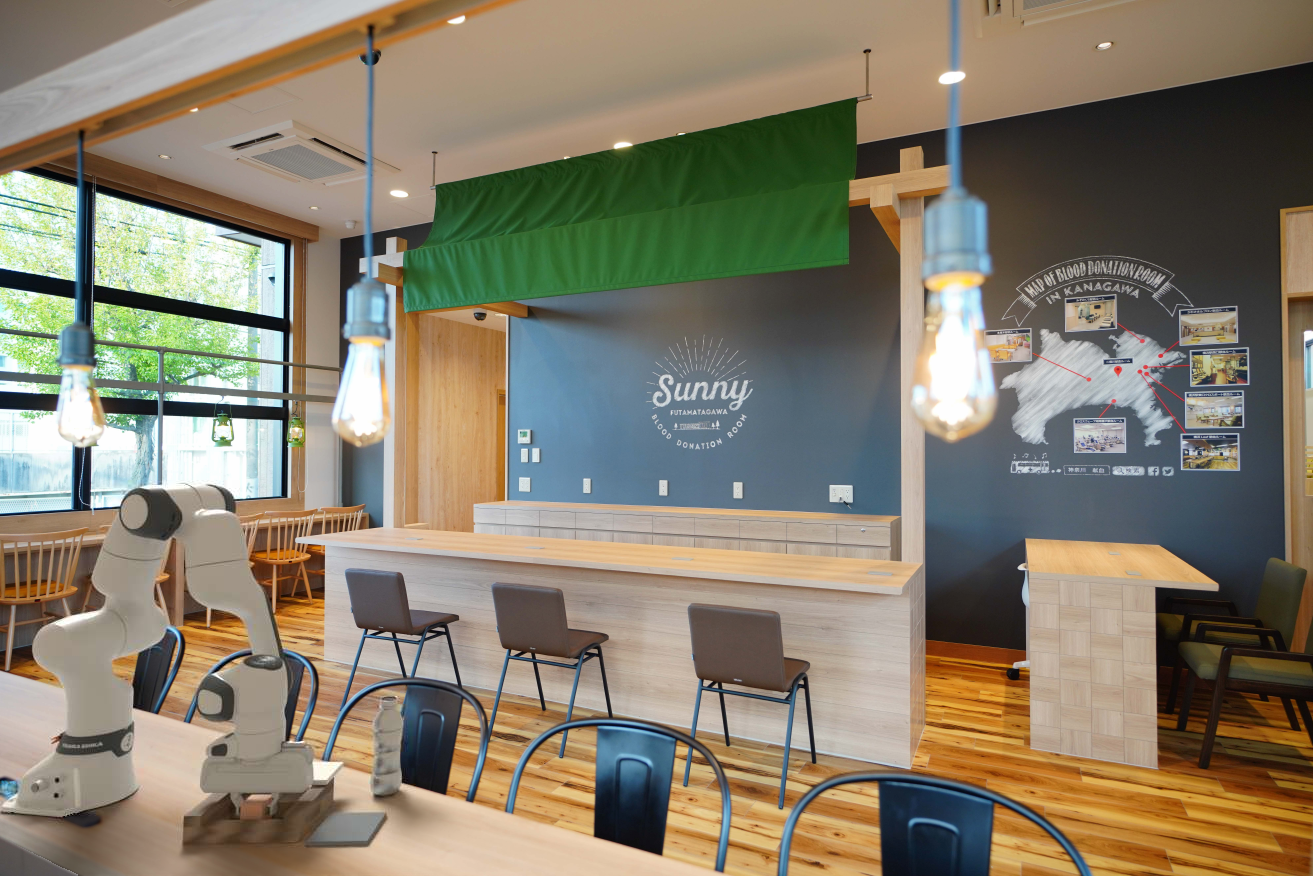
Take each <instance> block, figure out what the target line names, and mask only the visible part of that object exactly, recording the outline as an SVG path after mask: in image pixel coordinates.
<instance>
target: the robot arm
mask: <svg viewBox="0 0 1313 876" xmlns="http://www.w3.org/2000/svg"><path fill="white" fill-rule="evenodd" d="M236 512H237V504H236V499H235V496H234V495H233V494H232V492H231V491H230V490H229V489H228V488H225V487H222V486H221V485H215V484H212V483H211V484H210V483H209V484H200V483H199V484H198V483H189V482H187V483H185V482H184V483H183V482H182V483H175V484H173V483H172V484H161V485H157V484H149V485H142V486H138V487H135V488H132V489H131V490H129V491H128V492H127V493H126V494H125V495H124V497H123V498H122V500H121V502H120V505H119V509H118V512H117V514H116V516H115V517H114V518H113V520H112V522H111V524H110V526H109V528H108V530H107V533H106V535H105V537H104V539H103V543H102V545H101V548H100V551H99V554H98V557H97V559H96V563H95V564H94V565H95V566H94V568H93V571H92V575H91V578H90V579H91V582H92V585H93V586H94V589H96V591H98V592H99V593H100V594H102V595H103V596H105V602H104V605H103V606H102V607H101V608H100V609H98V610H95V611H94V610H93V611H89V612H88V611H87V612H84V613H83V612H82V613H77V614H73V615H68V616H66V617H62V618H61V619H58V620H55V621H54V622H51V623H48V624H47V625H44V626H42V627H41V628H40V629H39V630H38V631H37V633H36V635H35V637H34V639H33V642H32V645H31V646H32V648H31V649H32V650H31V652H32V656H33V659H34V661H35V662H36V664H37V665H39V667H40V668H42V670H45V671H48V672H50V673H51V674H53V675H54V676H55V677H57V679H58V681H59V683H60V684H61V686H62V688H63V691H64V693H65V699H66V701H65V702H66V720H65V721H66V723H65V724H66V726H65V730H64V731H63V732H61V733H60V734H58V735H57V736H55V737H52V738H51V741H52V742H51V745H54V744H55V743H58V744H57V746H56V748H55V750H54V751H53V752H52V753H50V754H49V755H48V756H46V757H45V758H43V759H42V760H41V761H39V762H37V764H35V765H34V766H32V767H31V768H30V769H29V770H27V771H26V772H25V773H24V775H23V776H22V778H21V780H20V783H19V787H18V790H17V793H16V794H14V795H12V796H11V797H10V798H8V799H6V800H5V802H3V804H2V805H1V810H0V811H1V812H3V813H11V812H14V814H23V815H35V816H45V817H46V816H47V817H58V818H64V817H63V816H65V817H68V816H67V815H69V816H71V815H70V814H72V815H74V814H73V813H75V814H78V813H80V812H83V811H88V810H91V809H95V808H100V807H105V806H108V805H110V804H114V803H116V802H118V801H120V800H123V799H125V798H127V797H130V796H131V795H132V794H134V793H135V792H136V791H137V790H138V788H139V783H138V781H137V778H136V774H135V768H134V761H133V746H134V740H135V722H134V720H133V709H134V708H133V707H134V687H133V685H132V684H131V683H130V682H129V681H127V680H126V679H125V678H122V677H119V676H116V675H115V673H114V669H113V661H114V660H116V659H119V658H124V657H128V656H131V655H134V654H139V653H141V652H143V651H145V650H147V649H149V648H151V647H153V646H154V645H157V644H158V643H160V642H162V639H164V637H165V635H166V632H167V630H168V619H167V616H166V614H165V612H164V611H163V609H162V608H161V607H160V606H159V605H157V603H156V601H155V585H156V581H157V579H158V574H159V572H160V569H161V565H162V562H163V559H164V558H165V554H166V551H167V547H168V544H169V541H170V539H171V538H173V539H176V540H178V541H179V542H180V543H181V544H182V546H183V551H184V561H185V562H184V565H185V578H186V579H185V580H186V585H187V589H188V592H189V594H190V596H191V597H192V598H193V599H194V600H195V601H196V602H198V603H199V604H201V606H204V607H206V608H209V609H212V610H217V611H222V612H227V613H230V614H233V615H234V616H236V617H238V618H239V619H240V620H241V621H242V622H243V624H244V627H245V630H246V634H247V637H248V641H249V645H250V649H251V653H252V655H251V656H248V657H246V658H244V659H243V660H242V661H240V663H239V664H238V663H237V664H236V665H234V666H233V667H230V668H226V669H222V670H220V671H216V672H214V673H211V674H210V675H207V676H205V677H204V678H203V680H202V681H201V682H200V684H199V686H198V688H197V691H196V695H195V705H196V706H195V707H196V709H197V710H196V711H197V712H198V713H199V714H200V716H201V717H203V719H206V720H207V721H209V722H212V723H221V722H228V721H230V722H231V721H232V722H234V724H235V726H234V731H232V732H228V733H225V734H223V735H222V736H219V737H218V738H216V739H215V740H214V741H212V742H211V743H209V744H208V745H207V746H206V748H205V755H206V758H205V759H204V761H203V763H202V766H201V771H200V780H199V788H200V790H201V791H202V792H203V793H204V794H212V793H231V797H230V798H231V800H232V801H233V803H234V805H235V806H236V815H240V814H241V804H242V803H243V802H244V800H243V798H242V796H241V794H242V793H271V798H274V800H273V801H272V802H270V803H268V805H266V806H265V811H266V812H265V815H274V814H275V813H276V811H277V802H278V801H279V800H280V798H281V796H282V795H283V793H303V792H304V791H306V790H307V789H308V788H310V787H311V786H312V785H311V784H312V783H313V780H314V770H313V762H314V758H315V749H314V747H313V746H312V745H311V744H310V743H308V742H307V741H290V740H288V741H287V740H286V734H287V733H286V730H287V720H286V716H285V708H286V705H287V704H288V703H287V702H288V695H289V694H290V692H291V689H292V687H293V682H294V675H293V672H292V668H291V666H290V663H289V662H288V659H287V656H286V654H285V652H284V649H283V645H282V641H281V637H280V634H279V629H278V625H277V622H276V618H275V614H274V610H273V607H272V603H271V600H270V598H269V594H268V592H267V590H266V589H265V587H264V586H262V585H261V584H259V583H258V581H257V580H256V578H255V577H254V575H253V572H252V570H251V569H252V568H251V566H250V560H249V551H248V545H247V541H246V535H245V532H244V529H243V528H244V527H243V526H242V523H241V520H240V518H239V516H238V515H237V514H236Z"/></svg>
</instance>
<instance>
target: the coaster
mask: <svg viewBox="0 0 1313 876" xmlns="http://www.w3.org/2000/svg"><path fill="white" fill-rule="evenodd" d="M387 814H388V813H387V811H380V812H379V811H377V812H376V811H375V812H373V811H372V812H370V811H369V812H366V811H365V812H330V813H329V814H328V815H327V817H326V818H324V820H323V822H321V824H320V825H319V826H318V827H317V828H316V830H315V831H314V832H313V833H312V834H311V836H310V837H309V838H307V839H308V840H306V847H329V846H330V847H331V846H332V847H333V846H336V847H339V846H368V845H369V843H370V841H371V840H372V838H373V837H374V835H375V834H376V833H377V831H378V829H379V828H380V826H381V825H382V823H383V822H384V821H385V820H386V818H387Z"/></svg>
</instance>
